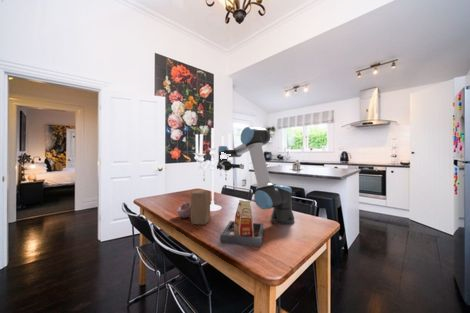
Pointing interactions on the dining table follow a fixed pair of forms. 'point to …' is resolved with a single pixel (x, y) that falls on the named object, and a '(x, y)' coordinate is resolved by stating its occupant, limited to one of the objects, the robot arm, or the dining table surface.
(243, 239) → the carton holder
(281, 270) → the dining table surface
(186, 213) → the mortar and pestle
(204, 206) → the wooden block
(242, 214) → the milk carton
